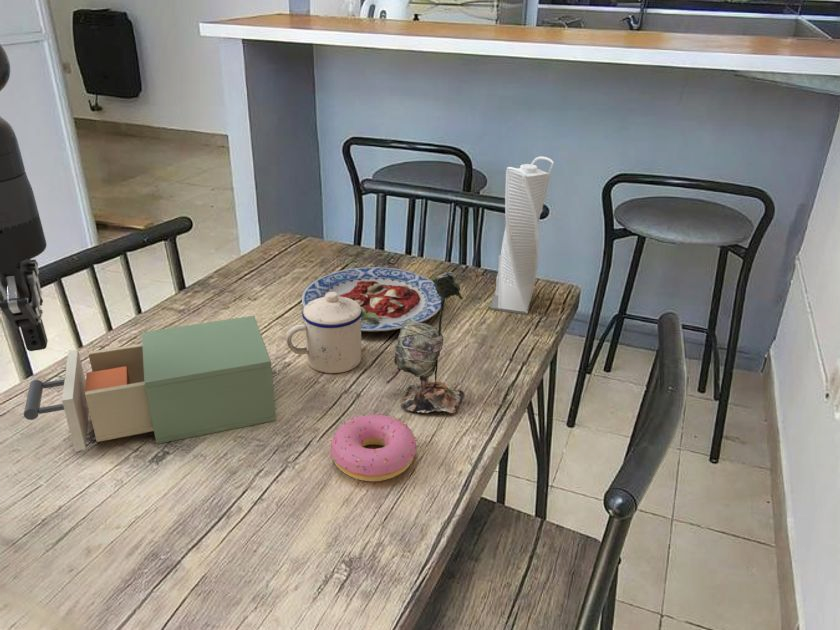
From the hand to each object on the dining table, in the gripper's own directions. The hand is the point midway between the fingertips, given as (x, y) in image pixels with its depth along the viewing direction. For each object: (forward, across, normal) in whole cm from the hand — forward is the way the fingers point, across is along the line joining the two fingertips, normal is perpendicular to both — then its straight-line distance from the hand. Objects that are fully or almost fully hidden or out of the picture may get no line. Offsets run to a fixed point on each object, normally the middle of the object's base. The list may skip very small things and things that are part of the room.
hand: (38, 347), depth 84 cm
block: (+11, 0, +7) cm, 13 cm away
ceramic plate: (+14, -22, +50) cm, 57 cm away
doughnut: (+13, +19, +37) cm, 44 cm away
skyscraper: (+14, -14, +75) cm, 78 cm away
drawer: (+12, 0, +7) cm, 14 cm away
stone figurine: (+14, +9, +48) cm, 51 cm away
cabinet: (+13, 0, +19) cm, 23 cm away
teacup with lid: (+14, -6, +37) cm, 40 cm away
